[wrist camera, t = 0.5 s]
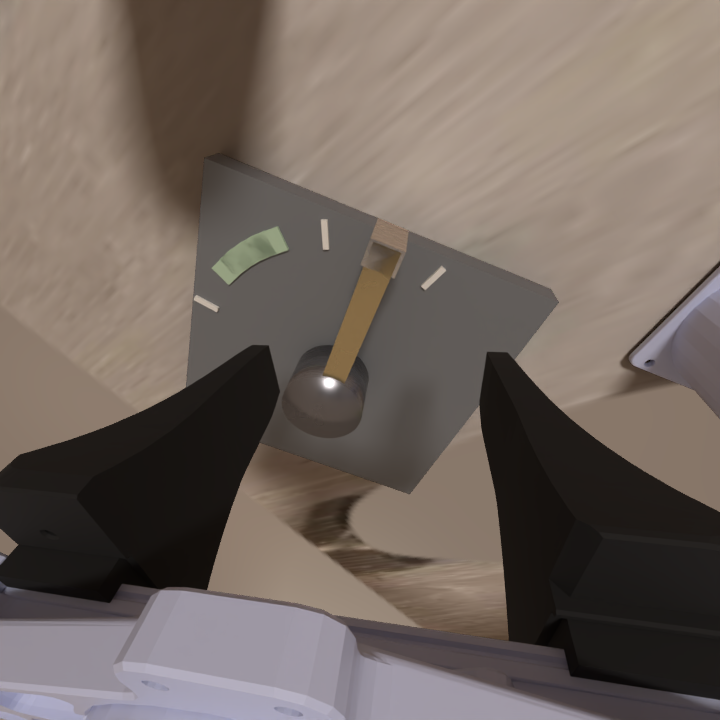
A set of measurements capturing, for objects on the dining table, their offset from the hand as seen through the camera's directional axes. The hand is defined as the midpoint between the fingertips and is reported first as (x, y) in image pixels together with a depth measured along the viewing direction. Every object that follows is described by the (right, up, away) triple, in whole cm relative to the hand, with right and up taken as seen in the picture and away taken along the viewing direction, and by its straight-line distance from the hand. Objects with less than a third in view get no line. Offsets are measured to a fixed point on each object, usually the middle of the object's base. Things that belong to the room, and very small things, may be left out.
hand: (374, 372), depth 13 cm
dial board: (-2, +1, +12) cm, 12 cm away
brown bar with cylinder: (-1, +2, +8) cm, 8 cm away
